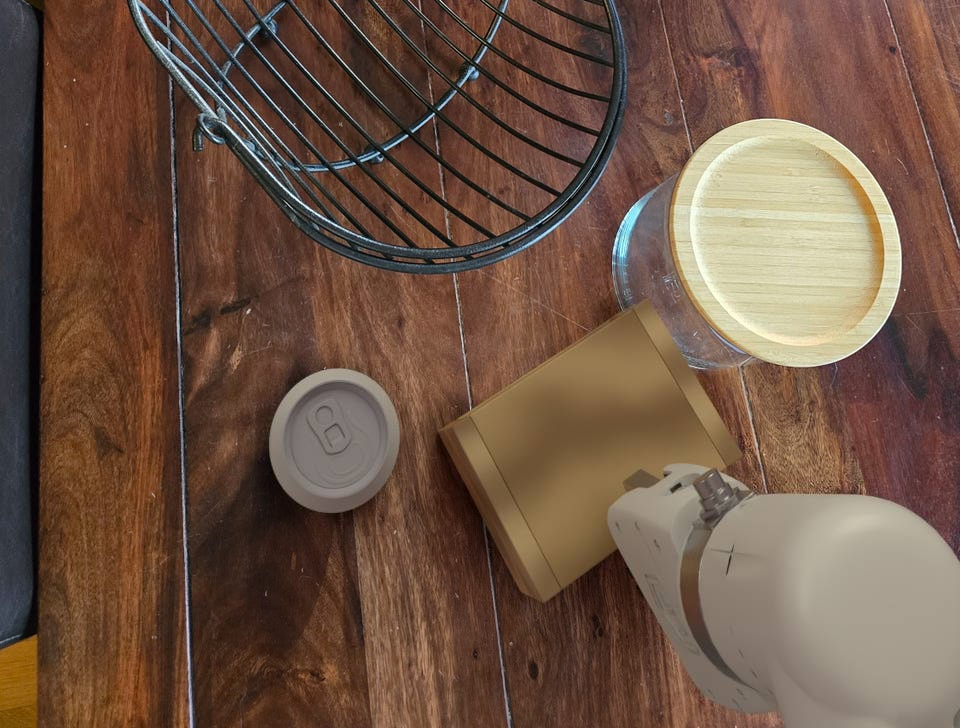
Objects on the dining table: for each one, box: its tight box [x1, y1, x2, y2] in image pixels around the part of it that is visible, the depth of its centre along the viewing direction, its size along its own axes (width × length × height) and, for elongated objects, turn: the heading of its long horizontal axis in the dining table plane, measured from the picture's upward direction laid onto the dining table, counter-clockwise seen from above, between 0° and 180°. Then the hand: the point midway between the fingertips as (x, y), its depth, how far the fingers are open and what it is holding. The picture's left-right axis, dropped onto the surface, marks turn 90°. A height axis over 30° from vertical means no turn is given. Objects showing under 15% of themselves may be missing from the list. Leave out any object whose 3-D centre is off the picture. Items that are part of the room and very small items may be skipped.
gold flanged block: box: [437, 297, 744, 604], centre depth 69 cm, size 10×14×7 cm
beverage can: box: [268, 368, 401, 514], centre depth 65 cm, size 7×7×12 cm
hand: (653, 565), depth 66 cm, fingers closed
